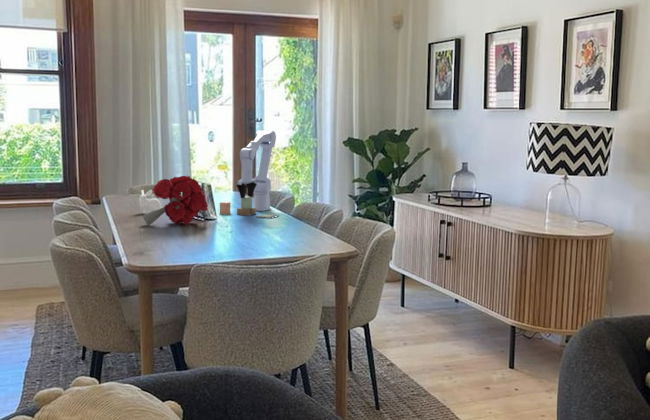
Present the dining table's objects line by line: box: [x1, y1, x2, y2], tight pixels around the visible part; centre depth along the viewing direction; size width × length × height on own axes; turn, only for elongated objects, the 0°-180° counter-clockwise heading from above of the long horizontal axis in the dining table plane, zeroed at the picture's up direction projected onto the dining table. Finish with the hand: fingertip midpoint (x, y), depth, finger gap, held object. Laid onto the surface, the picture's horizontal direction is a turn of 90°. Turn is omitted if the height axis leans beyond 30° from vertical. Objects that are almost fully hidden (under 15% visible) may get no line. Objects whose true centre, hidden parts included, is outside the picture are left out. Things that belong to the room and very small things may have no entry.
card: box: [255, 213, 280, 219], centre depth 332 cm, size 10×8×1 cm
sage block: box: [240, 195, 253, 209], centre depth 339 cm, size 4×4×6 cm
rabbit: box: [138, 189, 164, 215], centre depth 333 cm, size 12×9×12 cm
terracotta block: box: [219, 201, 231, 215], centre depth 339 cm, size 4×4×6 cm
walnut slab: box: [236, 207, 257, 216], centre depth 339 cm, size 7×7×4 cm
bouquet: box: [142, 175, 209, 226], centre depth 298 cm, size 22×24×30 cm
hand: (246, 197), depth 338 cm, fingers open, 7 cm apart
